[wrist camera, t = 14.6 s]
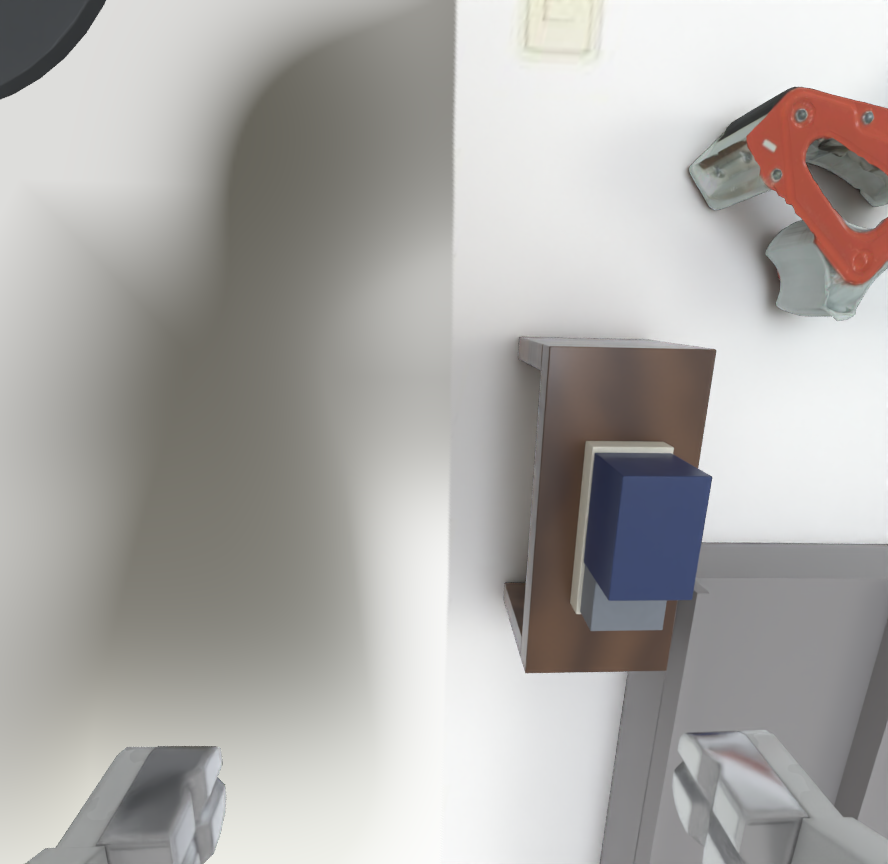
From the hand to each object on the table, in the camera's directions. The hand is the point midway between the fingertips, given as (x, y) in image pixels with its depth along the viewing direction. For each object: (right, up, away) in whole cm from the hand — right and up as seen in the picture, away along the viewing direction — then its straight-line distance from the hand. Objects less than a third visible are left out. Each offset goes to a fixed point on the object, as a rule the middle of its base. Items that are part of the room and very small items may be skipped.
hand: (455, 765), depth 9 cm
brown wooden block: (+9, +3, +28) cm, 29 cm away
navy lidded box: (+10, +1, +20) cm, 22 cm away
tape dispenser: (+25, +22, +24) cm, 41 cm away
